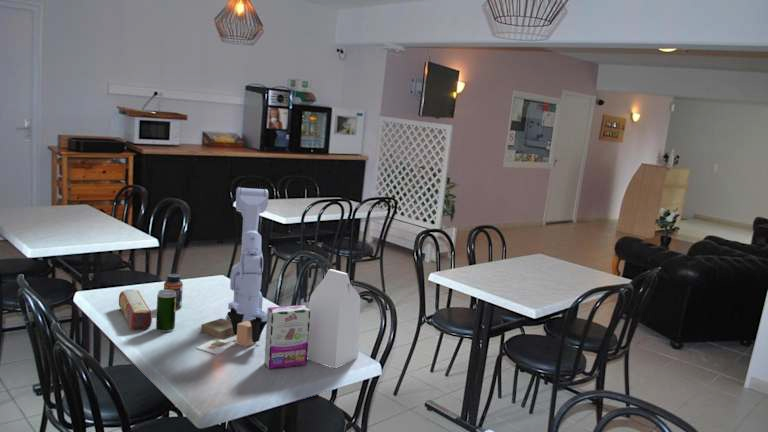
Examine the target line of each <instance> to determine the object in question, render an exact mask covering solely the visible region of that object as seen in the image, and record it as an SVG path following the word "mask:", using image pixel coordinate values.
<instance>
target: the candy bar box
mask: <svg viewBox="0 0 768 432" xmlns="http://www.w3.org/2000/svg"><path fill="white" fill-rule="evenodd" d="M266 313H267V324H266V326H265V327H266V330H265V331H266V332H265V344H264V345H265V347H264V364H265V365H266V367H267V369H269V370H276V369H284V368H285V367H286V368H294V367H300V366H307V364H308V359H307V352H308V337H309V325H310V309H309V306H308V307H307V305H305V304H300V305H285V306H271V307H267V311H266Z"/></svg>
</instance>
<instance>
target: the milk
mask: <svg viewBox="0 0 768 432" xmlns="http://www.w3.org/2000/svg"><path fill="white" fill-rule="evenodd" d="M350 281H351V280H350V278H349V274H348V273H347V272H343V271H340V270H336V269H333V268H330V269H328V270H327V272H326V273H325V276H324V278H323V279H322V280H321V281H320V283H318V285H317V286H316V288H315V289H314V290H313V292H312V293H311V295H310V297H309V303H308V308H309V309H310V325H309V337H308V352H307V358H308V359H307V360H309V359H310V360H309V361H311V360H313V361H312V362H314V361H316V362H315V363H317V362H319V363H322V364H325V365H328V366H331V367H333V368H336V367H338V366H340V365H342V364H344V363H346V364H348V363H350V362H352V361H353V359H354V360H356V359H358V358H359V341H360V320H361V295H360V293H358V291H357V290H356V289H355V287H354V286H353V285H352V284H351V282H350ZM357 357H358V358H357ZM355 358H356V359H355ZM351 360H352V361H351ZM349 361H350V362H349ZM347 362H348V363H347ZM319 363H318V364H319ZM322 364H321V365H322ZM325 365H324V366H325ZM344 365H345V364H344ZM342 366H343V365H342ZM333 368H332V369H333Z"/></svg>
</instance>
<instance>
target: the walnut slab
mask: <svg viewBox="0 0 768 432" xmlns="http://www.w3.org/2000/svg"><path fill="white" fill-rule="evenodd" d="M200 333H201V334H203V335H206V336H208V337H212V339H215V338H218V339H222V340H225V339H226V338H229V337H232V336H235V335H234V332H233V327H232V324H231V321H230V320H227V319H224V318H218V319H214V320H212V321H207V322H205V323H202V324H201V328H200Z"/></svg>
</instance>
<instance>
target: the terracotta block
mask: <svg viewBox="0 0 768 432" xmlns="http://www.w3.org/2000/svg"><path fill="white" fill-rule="evenodd" d="M235 343H236V344H238V345H240V346H243V347H246V348H247V347H249V346H252V345H254V344H256V343H257V342H255V343H254V342H253V341H252V326H251V323H250V321H245V322H242V323H239V324H237V335H236V341H235Z"/></svg>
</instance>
